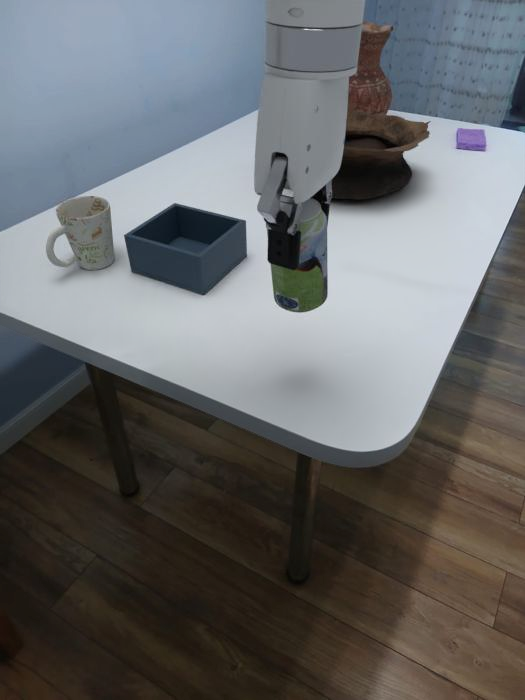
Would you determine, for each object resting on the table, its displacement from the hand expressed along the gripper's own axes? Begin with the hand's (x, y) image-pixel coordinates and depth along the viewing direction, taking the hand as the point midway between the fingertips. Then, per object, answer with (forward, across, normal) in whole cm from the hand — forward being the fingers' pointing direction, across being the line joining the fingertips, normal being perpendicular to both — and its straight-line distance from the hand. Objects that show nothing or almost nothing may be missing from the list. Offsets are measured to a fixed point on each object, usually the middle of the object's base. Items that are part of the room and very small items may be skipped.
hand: (297, 249), depth 51 cm
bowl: (+18, -64, -17) cm, 69 cm away
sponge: (+18, -104, +2) cm, 105 cm away
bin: (+19, -18, -27) cm, 38 cm away
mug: (+19, -8, -42) cm, 47 cm away
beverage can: (+7, 0, 0) cm, 7 cm away
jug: (+18, -100, -30) cm, 106 cm away
